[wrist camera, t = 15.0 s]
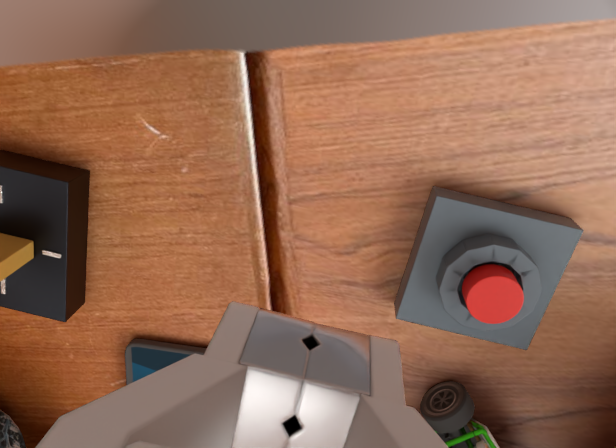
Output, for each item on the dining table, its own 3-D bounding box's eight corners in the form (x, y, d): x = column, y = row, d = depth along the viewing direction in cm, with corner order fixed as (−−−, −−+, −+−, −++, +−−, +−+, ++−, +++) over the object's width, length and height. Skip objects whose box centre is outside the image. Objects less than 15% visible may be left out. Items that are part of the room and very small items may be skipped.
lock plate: (-37, 140, 38) (-71, 150, 35) (90, 170, 38) (66, 183, 35) (-28, 275, 43) (-57, 294, 40) (84, 302, 42) (64, 323, 39)
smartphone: (128, 335, 43) (123, 341, 42) (301, 360, 42) (300, 367, 41) (132, 403, 46) (127, 410, 45) (294, 428, 45) (292, 436, 44)
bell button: (471, 258, 33) (477, 270, 31) (524, 270, 33) (533, 283, 31) (454, 303, 34) (458, 317, 33) (505, 315, 34) (512, 329, 33)
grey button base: (432, 185, 35) (440, 204, 32) (571, 218, 35) (595, 241, 31) (393, 303, 39) (396, 332, 35) (518, 333, 39) (534, 366, 35)
